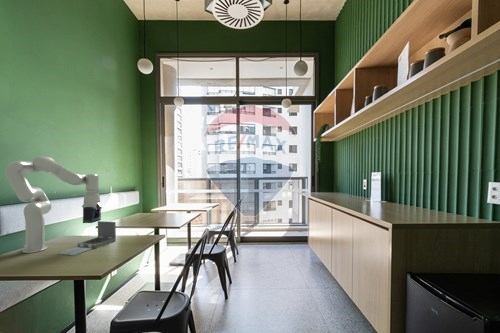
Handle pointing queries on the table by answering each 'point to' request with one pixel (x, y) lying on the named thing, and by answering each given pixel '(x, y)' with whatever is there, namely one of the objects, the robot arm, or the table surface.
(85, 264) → the table surface
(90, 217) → the small box
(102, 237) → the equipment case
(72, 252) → the rubber mat
